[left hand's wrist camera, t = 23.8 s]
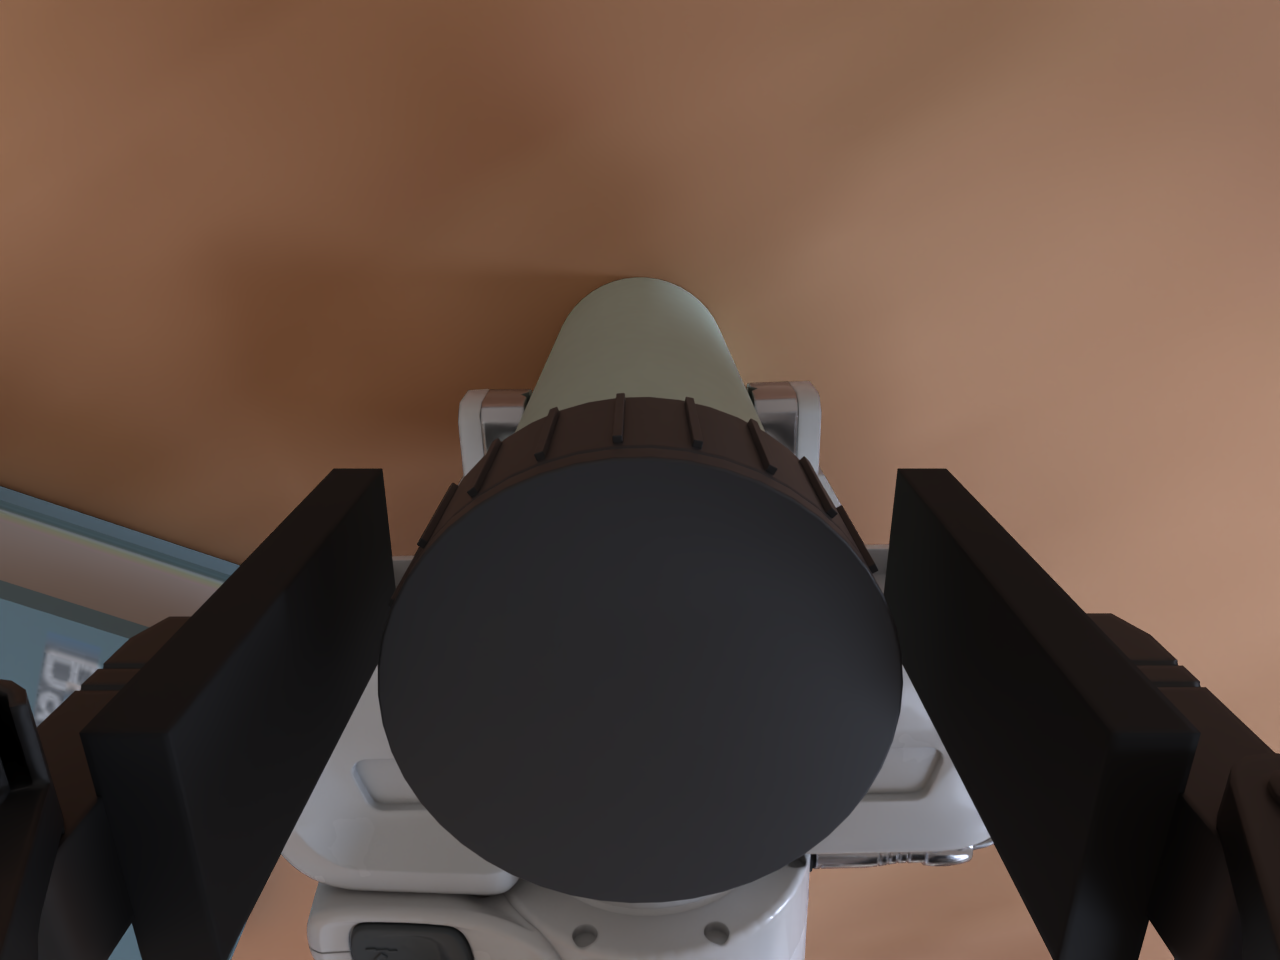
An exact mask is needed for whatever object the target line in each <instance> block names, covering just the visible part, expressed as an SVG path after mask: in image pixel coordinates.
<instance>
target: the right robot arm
mask: <svg viewBox="0 0 1280 960" xmlns="http://www.w3.org/2000/svg"><path fill="white" fill-rule="evenodd" d="M746 390H747V392H748V394H749V397H750V399H751V401H752V403H753V406H754V408H755V410H756V412H757V415H758V417H759V419H760V421H761V424H762V426H763V428H764V430H765V432H766V433H767V434H769V435H770V436H771V437H773V438H774V439H775V440H777V441H778V442H780V443H781V444H782V445H784V446H785V447H787V448H788V449H789V450H790V451H791V452H792V453H793V454H794V455H795V456H796V457H797V458H798V459H799V460H800V459H801V458H802V457H803V456H805V457H806V458H807V459H808V460H809V461H810V463H811V465H812V467H813V469H814V471H815V472H816V474H817V476H818V478H819V480H820V482H821V483H822V485H823V487H824V488H825V490H826V492H827V493H828V495H829V497H830V498H831V500H832V502H833V504H834V505H835V507H836V508H837V507H839V506H841V504H840V502H839V500H838V498H837V497H836V495H835V493H834V491H833V490H832V488H831V486H830V484H829V482H828V481H827V479H826V477H825V475H824V474H823V472H822V470H821V468H820V467H819V452H820V430H821V404H820V396H819V393H818V391H817V390H816V388H815V387H814V386H813V384H812V383H811V382H810V381H791V382H788V381H786V382H760V383H748V384H747V387H746ZM531 395H532V390H531V389H490V390H489V389H478V390H468V391H467V393H466V394H465V396H464V397H463V398H462V400H461V401H460V405H459V416H458V427H459V436H460V446H461V455H462V465H463V477H462V479H461V481H462V480H463V478H464V477H465V476H466V475H467V474H468V472H469V471H470V470H471V469H472V468H473V467H474V466H475V465H476V464H477V463H478V462H479V461H480V460H481V459H482V457H483V456H485V455H486V453H487V451H488V449H489V447H490V445H491V443H492V442H493V441H494V440H496V439H497V438H499V440H500V441H501V442H502V441H503V440H504V439H506V438H507V437H509V436H510V435H512V434H514V433H515V431H516V429H517V427H518V424H519V422H520V420H521V418H522V415H523V413H524V411H525V409H526V406H527V404H528V402H529V400H530V397H531ZM461 481H460V482H459V484H460V483H461ZM459 484H458V485H459ZM865 547H866V548H867V550H868V552H869V554H870V555H871V557H872V559H873V561H874V562H875V564H876V566H877V568H878V571H877V572H875V573H873V576H874V578H875V580H876V582H877V583H878V585H879V587H880V589H881V591H882V592H883V594H884V586H885V577H886V568H887V559H888V551H889V544H873V545H865ZM414 556H415V555H412V556H392V559H393V568H394V577H395V586H396V588H397V586H398V584H399V583H400V581H401V579H402V577H403V575H404V574H405V572H406V570H407V568H408V566H409V565H410V563H411V561H412V559H413V557H414ZM902 670H903V690H902V701H901V711H900V715H899V719H898V723H897V727H896V731H895V735H894V739H893V742H892V745H891V747H890V750H889V752H888V754H887V757H886V759H885V762H884V764H883V766H882V769H881V770H880V772H879V774H878V775H877V777H876V779H875V780H874V782H873V784H872V785H871V787H870V789H869V791H868V792H867V794H866V795H865V796H864V797H863V799H862V800H861V801H860V802H859V804H858V805H857V806H856V808H855V809H854V810H853V811H852V813H851V814H850V815H849V816H848V817H847V818H846V819H845V820H844V821H843V822H842V823H841V824H840V825H839V826H838V827H837V828H836V829H835V830H834V831H833V832H832V833H831V834H830V835H829V836H828V837H826V838H825V839H824V840H823V841H821V842H820V843H819V844H817V845H816V846H815V847H813V848H812V849H811V850H810V851H808V852H807V853H806V854H804V855H803V856H801V857H799V858H798V859H796V860H794V861H793V862H791V863H789V864H788V865H786V866H784V867H783V868H781V869H779V870H777V871H775V872H773V873H771V874H769V875H766V876H764V877H762V878H760V879H758V880H755V881H753V882H751V883H748V884H745V885H742V886H739V887H736V888H733V889H730V890H727V891H724V892H721V893H716V894H712V895H707V896H703V897H699V898H694V899H687V900H679V901H671V902H662V903H623V902H610V901H599V900H594V899H588V898H583V897H577V896H572V895H568V894H564V893H561V892H557V891H554V890H550V889H547V888H543V887H540V886H538V885H535V884H533V883H530V882H528V881H525V880H523V879H521V878H518V877H516V876H513V875H511V874H509V873H507V872H506V871H504V870H502V869H500V868H498V867H496V866H494V865H493V864H491V863H489V862H487V861H485V860H484V859H483V858H481V857H480V856H478V855H477V854H475V853H474V852H472V851H471V850H470V849H468V848H467V847H465V846H464V845H462V844H461V843H460V842H459V841H458V840H457V839H455V838H454V837H453V836H452V835H451V834H450V833H449V832H448V831H446V830H445V829H444V828H443V827H442V826H441V825H440V824H439V823H438V822H437V821H436V820H435V819H434V817H433V816H432V815H431V814H430V813H429V812H428V811H427V809H426V808H425V807H424V806H423V805H422V804H421V803H420V801H419V800H418V798H417V797H416V795H415V794H414V792H413V791H412V789H411V788H410V786H409V785H408V783H407V782H406V780H405V779H404V777H403V775H402V773H401V771H400V769H399V767H398V765H397V763H396V761H395V758H394V756H393V754H392V752H391V749H390V746H389V743H388V740H387V737H386V733H385V730H384V727H383V724H382V718H381V711H380V705H379V699H378V665H377V667H376V669H375V671H374V673H373V675H372V677H371V679H370V680H369V682H368V684H367V686H366V688H365V690H364V692H363V694H362V696H361V698H360V700H359V702H358V704H357V706H356V708H355V710H354V712H353V714H352V716H351V718H350V720H349V722H348V724H347V726H346V727H345V729H344V731H343V733H342V735H341V737H340V739H339V741H338V743H337V745H336V747H335V749H334V751H333V753H332V755H331V757H330V759H329V761H328V763H327V765H326V767H325V769H324V771H323V772H322V774H321V776H320V778H319V780H318V782H317V784H316V786H315V788H314V790H313V792H312V794H311V796H310V798H309V800H308V802H307V804H306V806H305V808H304V810H303V812H302V814H301V816H300V818H299V819H298V821H297V823H296V825H295V827H294V829H293V831H292V833H291V835H290V837H289V839H288V841H287V843H286V845H285V847H284V849H283V851H282V853H281V854H282V856H283V857H284V858H285V859H286V860H287V861H288V862H289V863H290V864H291V865H292V866H294V867H295V868H296V869H297V870H299V871H300V872H302V873H303V874H305V875H307V876H308V877H310V878H312V879H314V880H316V881H318V882H319V883H318V886H317V890H316V893H315V897H314V901H313V904H312V908H311V911H310V915H309V919H308V923H307V938H308V943H309V948H310V951H311V954H312V956H313V958H314V960H805V943H806V925H807V908H808V895H809V872H811V871H812V868H814V869H820V868H821V869H832V868H867V867H876V866H877V865H878V866H883V865H887V864H896V863H906V862H907V863H922V864H923V865H926V866H951V865H957V864H962V863H965V862H968V861H970V860H971V859H972V856H973V850H976V849H981V848H985V847H988V846H990V845H993V844H994V843H993V841H992V839H991V837H990V835H989V833H988V831H987V829H986V827H985V825H984V823H983V821H982V819H981V818H980V816H979V814H978V812H977V810H976V808H975V806H974V804H973V802H972V800H971V798H970V796H969V794H968V792H967V790H966V788H965V786H964V784H963V782H962V780H961V778H960V776H959V774H958V772H957V771H956V769H955V767H954V765H953V763H952V761H951V759H950V757H949V755H948V753H947V751H946V749H945V747H944V745H943V743H942V741H941V739H940V737H939V735H938V733H937V731H936V729H935V727H934V726H933V724H932V722H931V720H930V718H929V716H928V714H927V712H926V710H925V708H924V706H923V704H922V702H921V700H920V698H919V696H918V694H917V692H916V690H915V688H914V686H913V684H912V682H911V680H910V679H909V677H908V675H907V673H906V671H905V669H904V667H903V665H902Z"/></svg>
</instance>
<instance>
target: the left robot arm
mask: <svg viewBox="0 0 1280 960" xmlns="http://www.w3.org/2000/svg"><path fill="white" fill-rule="evenodd" d="M395 590H396V586H395V577H394V568H393V559H392V551H391V542H390V533H389V524H388V515H387V506H386V497H385V488H384V480H383V471H382V469H333V470H332V471H331V472H330V473H329V474H328V475H327V476H326V477H325V478H324V479H323V480H322V481H321V482H320V483H319V484H318V486H317V487H316V488H315V489H314V490H313V491H312V492H311V493H310V494H309V495H308V496H307V497H306V498H305V499H304V500H303V501H302V502H301V503H300V504H299V505H298V506H297V507H296V508H295V509H294V510H293V511H292V512H291V514H290V515H289V516H288V517H287V518H286V519H285V520H284V521H283V522H282V523H281V524H280V525H279V526H278V527H277V528H276V529H275V530H274V531H273V532H272V533H271V534H270V535H269V536H268V537H267V538H266V539H265V540H264V542H263V543H262V544H261V545H260V546H259V547H258V548H257V549H256V550H255V551H254V552H253V553H252V554H251V555H250V556H249V557H248V558H247V559H246V560H245V561H244V562H243V563H242V564H241V565H240V566H239V567H238V568H237V570H236V571H235V572H234V573H233V574H232V575H231V576H230V577H229V578H228V579H227V580H226V581H225V582H224V583H223V584H222V585H221V586H220V587H219V588H218V589H217V590H216V591H215V592H214V593H213V594H212V595H211V596H210V598H209V599H208V600H207V601H206V602H205V603H204V604H203V605H202V606H201V607H200V608H199V609H198V610H197V611H196V612H195V613H194V614H193V615H192V616H169V617H167V618H166V619H164V620H162V621H160V622H158V623H156V624H155V625H153V626H151V627H149V628H147V629H146V630H144V631H142V632H140V633H138V634H137V635H135V636H133V637H131V638H130V639H129V640H128V641H126V642H125V643H124V644H123V645H122V646H121V647H120V648H119V649H118V650H117V651H116V652H115V653H114V654H113V655H112V656H111V657H110V658H109V659H108V660H107V661H106V662H105V663H103V669H97V670H96V671H95V672H94V673H93V674H92V675H91V676H90V677H89V678H88V679H87V680H86V681H85V682H84V683H83V684H81V690H80V691H74V692H73V693H72V694H71V695H70V696H69V697H68V698H67V699H66V700H65V701H64V702H63V703H62V704H61V705H59V706H58V707H57V708H56V709H55V710H54V711H53V712H52V713H51V714H50V715H49V716H48V717H47V718H46V719H45V720H44V721H43V722H42V723H41V724H40V725H39V726H38V727H37V726H36V723H35V720H34V716H33V713H32V709H31V706H30V703H29V699H28V696H27V693H26V689H24V688H22V687H21V686H19V685H18V684H16V683H15V682H13V681H12V680H3V679H0V960H108V958H109V957H110V955H111V954H112V952H113V951H114V949H115V948H116V946H117V945H118V943H119V942H120V940H121V939H122V937H123V935H124V934H125V932H126V931H127V929H128V928H129V926H130V925H131V923H132V926H133V929H134V933H135V936H136V940H137V944H138V947H139V951H140V955H141V958H142V960H227V958H228V956H229V955H230V953H231V951H232V949H233V947H234V945H235V943H236V941H237V939H238V937H239V935H240V933H241V931H242V929H243V927H244V925H245V923H246V921H247V919H248V917H249V915H250V913H251V911H252V910H253V908H254V906H255V904H256V902H257V900H258V898H259V896H260V894H261V892H262V890H263V888H264V886H265V884H266V882H267V880H268V878H269V876H270V874H271V872H272V870H273V868H274V866H275V864H276V863H277V861H278V859H279V857H280V855H281V853H282V851H283V849H284V847H285V845H286V843H287V841H288V839H289V837H290V835H291V833H292V831H293V829H294V827H295V825H296V823H297V821H298V819H299V818H300V816H301V814H302V812H303V810H304V808H305V806H306V804H307V802H308V800H309V798H310V796H311V794H312V792H313V790H314V788H315V786H316V784H317V782H318V780H319V778H320V776H321V774H322V772H323V771H324V769H325V767H326V765H327V763H328V761H329V759H330V757H331V755H332V753H333V751H334V749H335V747H336V745H337V743H338V741H339V739H340V737H341V735H342V733H343V731H344V729H345V727H346V726H347V724H348V722H349V720H350V718H351V716H352V714H353V712H354V710H355V708H356V706H357V704H358V702H359V700H360V698H361V696H362V694H363V692H364V690H365V688H366V686H367V684H368V682H369V680H370V679H371V677H372V675H373V673H374V671H375V669H376V667H377V665H378V660H379V653H380V647H381V640H382V635H383V631H384V628H385V625H386V622H387V619H388V616H389V613H390V609H391V607H390V606H389V602H390V599H391V597H392V595H393V593H394V591H395ZM884 597H885V599H886V602H887V604H888V607H889V609H890V612H891V614H892V617H893V620H894V622H895V625H896V627H897V635H898V639H899V644H900V648H901V653H902V665H903V667H904V669H905V671H906V673H907V675H908V677H909V679H910V680H911V682H912V684H913V686H914V688H915V690H916V692H917V694H918V696H919V698H920V700H921V702H922V704H923V706H924V708H925V710H926V712H927V714H928V716H929V718H930V720H931V722H932V724H933V726H934V727H935V729H936V731H937V733H938V735H939V737H940V739H941V741H942V743H943V745H944V747H945V749H946V751H947V753H948V755H949V757H950V759H951V761H952V763H953V765H954V767H955V769H956V771H957V772H958V774H959V776H960V778H961V780H962V782H963V784H964V786H965V788H966V790H967V792H968V794H969V796H970V798H971V800H972V802H973V804H974V806H975V808H976V810H977V812H978V814H979V816H980V818H981V819H982V821H983V823H984V825H985V827H986V829H987V831H988V833H989V835H990V837H991V839H992V841H993V843H994V845H995V847H996V849H997V851H998V853H999V855H1000V857H1001V859H1002V861H1003V863H1004V864H1005V866H1006V868H1007V870H1008V872H1009V874H1010V876H1011V878H1012V880H1013V882H1014V884H1015V886H1016V888H1017V890H1018V892H1019V894H1020V896H1021V898H1022V900H1023V902H1024V904H1025V906H1026V908H1027V910H1028V911H1029V913H1030V915H1031V917H1032V919H1033V921H1034V923H1035V925H1036V927H1037V929H1038V931H1039V933H1040V935H1041V937H1042V939H1043V941H1044V943H1045V945H1046V947H1047V949H1048V951H1049V953H1050V955H1051V956H1052V958H1053V960H1138V958H1139V955H1140V951H1141V947H1142V944H1143V940H1144V936H1145V933H1146V929H1147V926H1148V922H1149V920H1150V922H1151V923H1152V925H1153V926H1154V928H1155V929H1156V931H1157V932H1158V934H1159V935H1160V937H1161V938H1162V940H1163V941H1164V943H1165V944H1166V946H1167V947H1168V949H1169V950H1170V952H1171V953H1172V955H1173V956H1174V958H1175V959H1174V960H1280V754H1277V753H1275V752H1273V751H1272V750H1271V749H1270V748H1269V747H1268V746H1267V745H1266V744H1265V743H1264V742H1263V741H1262V740H1261V739H1260V738H1259V737H1258V736H1257V735H1256V734H1254V733H1253V732H1252V731H1251V730H1250V729H1249V728H1248V727H1247V726H1246V725H1245V724H1244V723H1243V722H1242V721H1241V720H1240V719H1239V718H1238V717H1237V716H1236V715H1234V714H1233V713H1232V712H1231V711H1230V710H1229V709H1228V708H1227V707H1226V706H1225V705H1224V704H1223V703H1222V702H1221V701H1220V700H1219V699H1218V698H1217V697H1215V696H1214V695H1213V694H1212V693H1211V692H1210V691H1209V690H1208V689H1207V688H1206V687H1200V681H1199V680H1198V679H1196V678H1195V677H1194V676H1193V675H1192V674H1191V673H1190V672H1189V671H1188V670H1187V669H1186V668H1185V667H1184V666H1178V663H1177V660H1176V659H1175V658H1174V657H1173V656H1172V655H1171V654H1170V653H1169V652H1168V651H1167V650H1166V649H1165V648H1164V647H1163V646H1162V645H1161V644H1160V643H1158V642H1157V641H1156V640H1155V639H1154V638H1153V637H1152V636H1151V635H1150V634H1148V633H1146V632H1144V631H1142V630H1140V629H1139V628H1137V627H1135V626H1133V625H1131V624H1130V623H1128V622H1126V621H1124V620H1122V619H1120V618H1119V617H1117V616H1115V615H1113V614H1086V613H1085V612H1084V611H1083V610H1082V609H1081V608H1080V607H1079V606H1078V605H1077V604H1076V603H1075V602H1074V601H1073V600H1072V599H1071V598H1070V596H1069V595H1068V594H1067V593H1066V592H1065V591H1064V590H1063V589H1062V588H1061V587H1060V586H1059V585H1058V584H1057V583H1056V582H1055V581H1054V580H1053V579H1052V578H1051V577H1050V576H1049V575H1048V574H1047V573H1046V572H1045V571H1044V570H1043V568H1042V567H1041V566H1040V565H1039V564H1038V563H1037V562H1036V561H1035V560H1034V559H1033V558H1032V557H1031V556H1030V555H1029V554H1028V553H1027V552H1026V551H1025V550H1024V549H1023V548H1022V547H1021V546H1020V545H1019V544H1018V543H1017V542H1016V540H1015V539H1014V538H1013V537H1012V536H1011V535H1010V534H1009V533H1008V532H1007V531H1006V530H1005V529H1004V528H1003V527H1002V526H1001V525H1000V524H999V523H998V522H997V521H996V520H995V519H994V518H993V517H992V516H991V515H990V514H989V512H988V511H987V510H986V509H985V508H984V507H983V506H982V505H981V504H980V503H979V502H978V501H977V500H976V499H975V498H974V497H973V496H972V495H971V494H970V493H969V492H968V491H967V490H966V489H965V488H964V487H963V486H962V484H961V483H960V482H959V481H958V480H957V479H956V478H955V477H954V476H953V475H952V474H951V473H950V472H949V471H948V470H947V469H898V471H897V480H896V488H895V497H894V506H893V515H892V524H891V533H890V542H889V551H888V559H887V568H886V577H885V586H884Z"/></svg>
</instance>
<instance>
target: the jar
mask: <svg viewBox="0 0 1280 960" xmlns="http://www.w3.org/2000/svg"><path fill="white" fill-rule="evenodd" d="M617 393H625V397H656V398H666V399H675V400H682V401H685V398H686V397H691V398H694V402H695V404H700V405H704V406H708V407H711V408H714V409H717V410H719V411H722V412H725V413H727V414H730V415H733V416H735V417H738V418H740V419H742V420H744V421H746V422H749V420H750V419H753V420H755V421H757V422H758V424H759V427H760V429H761V430H763V431H764V432H765V430H764V428H763V426H762V424H761V421H760V419H759V417H758V415H757V412H756V410H755V408H754V406H753V403H752V401H751V399H750V397H749V394H748V392H747V390H746V388H745V385H744V383H743V381H742V379H741V376H740V374H739V372H738V370H737V367H736V365H735V363H734V361H733V359H732V356H731V354H730V352H729V350H728V347H727V345H726V343H725V341H724V338H723V336H722V334H721V332H720V329H719V327H718V325H717V323H716V322H715V320H714V318H713V316H712V315H711V314H710V312H709V311H708V309H707V308H706V307H705V306H704V305H703V304H702V303H701V302H700V301H699V300H698V299H697V298H696V297H694V296H693V295H692V294H691V293H689V292H688V291H686V290H684V289H683V288H681V287H679V286H677V285H674V284H672V283H670V282H666V281H663V280H660V279H654V278H645V277H634V278H626V279H621V280H617V281H613V282H611V283H608V284H606V285H603V286H601V287H599V288H598V289H596V290H594V291H592V292H591V293H590V294H588V295H587V296H586V297H584V298H583V299H582V300H581V301H580V302H579V303H578V304H577V305H576V306H575V307H574V309H573V310H572V311H571V312H570V314H569V315H568V317H567V318H566V320H565V322H564V324H563V325H562V328H561V330H560V332H559V334H558V337H557V339H556V341H555V343H554V346H553V348H552V350H551V352H550V355H549V357H548V359H547V361H546V364H545V366H544V368H543V370H542V373H541V375H540V377H539V379H538V382H537V384H536V386H535V388H534V391H533V393H532V395H531V397H530V400H529V402H528V404H527V406H526V409H525V411H524V413H523V415H522V418H521V420H520V422H519V424H518V427H517V429H516V431H515V432H517V431H519V430H520V429H522V428H524V427H525V426H527V425H528V424H530V423H532V422H534V421H537V420H539V419H541V418H543V417H546V416H548V413H549V410H550V409H552V408H555V407H558V410H559V411H560V410H563V409H567V408H570V407H574V406H577V405H581V404H584V403H588V402H594V401H600V400H606V399H613V398H616V394H617Z"/></svg>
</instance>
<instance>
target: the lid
mask: <svg viewBox="0 0 1280 960" xmlns="http://www.w3.org/2000/svg"><path fill="white" fill-rule="evenodd" d="M417 545H418V546H420V547H419V548H418V550H417V552H416V554H415V556H414V557H413V559H412V561H411V563H410V565H409V566H408V568H407V570H406V572H405V574H404V575H403V577H402V579H401V581H400V583H399V584H398V586H397V588H396V590H395V591H394V593H393V595H392V597H391V599H390V602H389V606H390V607H391V609H390V613H389V616H388V619H387V622H386V625H385V628H384V631H383V635H382V640H381V647H380V653H379V660H378V699H379V705H380V711H381V718H382V724H383V727H384V730H385V733H386V737H387V740H388V743H389V746H390V749H391V752H392V754H393V756H394V758H395V761H396V763H397V765H398V767H399V769H400V771H401V773H402V775H403V777H404V779H405V780H406V782H407V783H408V785H409V786H410V788H411V789H412V791H413V792H414V794H415V795H416V797H417V798H418V800H419V801H420V803H421V804H422V805H423V806H424V807H425V808H426V809H427V811H428V812H429V813H430V814H431V815H432V816H433V817H434V819H435V820H436V821H437V822H438V823H439V824H440V825H441V826H442V827H443V828H444V829H445V830H446V831H448V832H449V833H450V834H451V835H452V836H453V837H454V838H455V839H457V840H458V841H459V842H460V843H461V844H462V845H464V846H465V847H467V848H468V849H470V850H471V851H472V852H474V853H475V854H477V855H478V856H480V857H481V858H483V859H484V860H485V861H487V862H489V863H491V864H493V865H494V866H496V867H498V868H500V869H502V870H504V871H506V872H507V873H509V874H511V875H513V876H516V877H518V878H521V879H523V880H525V881H528V882H530V883H533V884H535V885H538V886H540V887H543V888H547V889H550V890H554V891H557V892H561V893H564V894H568V895H572V896H577V897H583V898H588V899H594V900H599V901H610V902H623V903H662V902H671V901H679V900H687V899H694V898H699V897H703V896H707V895H712V894H716V893H721V892H724V891H727V890H730V889H733V888H736V887H739V886H742V885H745V884H748V883H751V882H753V881H755V880H758V879H760V878H762V877H764V876H766V875H769V874H771V873H773V872H775V871H777V870H779V869H781V868H783V867H784V866H786V865H788V864H789V863H791V862H793V861H794V860H796V859H798V858H799V857H801V856H803V855H804V854H806V853H807V852H808V851H810V850H811V849H812V848H813V847H815V846H816V845H817V844H819V843H820V842H821V841H823V840H824V839H825V838H826V837H828V836H829V835H830V834H831V833H832V832H833V831H834V830H835V829H836V828H837V827H838V826H839V825H840V824H841V823H842V822H843V821H844V820H845V819H846V818H847V817H848V816H849V815H850V814H851V813H852V811H853V810H854V809H855V808H856V806H857V805H858V804H859V802H860V801H861V800H862V799H863V797H864V796H865V795H866V794H867V792H868V791H869V789H870V787H871V785H872V784H873V782H874V780H875V779H876V777H877V775H878V774H879V772H880V770H881V769H882V766H883V764H884V762H885V759H886V757H887V754H888V752H889V750H890V747H891V745H892V742H893V739H894V735H895V731H896V727H897V723H898V719H899V715H900V711H901V701H902V690H903V670H902V653H901V648H900V644H899V639H898V635H897V627H896V625H895V622H894V620H893V617H892V614H891V612H890V609H889V607H888V604H887V602H886V599H885V597H884V594H883V592H882V591H881V589H880V587H879V585H878V583H877V582H876V580H875V578H874V576H873V573H875V572H877V571H878V568H877V566H876V564H875V562H874V561H873V559H872V557H871V555H870V554H869V552H868V550H867V548H866V547H865V545H864V543H863V541H862V539H861V538H860V536H859V534H858V532H857V531H856V529H855V527H854V525H853V524H852V522H851V520H850V518H849V517H848V515H847V513H846V511H845V510H844V508H843V506H842V505H841V506H839V507H837V508H836V507H835V505H834V504H833V502H832V500H831V498H830V497H829V495H828V493H827V492H826V490H825V488H824V487H823V485H822V483H821V482H820V480H819V478H818V476H817V474H816V472H815V471H814V469H813V467H812V465H811V463H810V461H809V460H808V459H807V458H806V457H805V456H803V457H802V458H801V459H800V460H799V459H798V458H797V457H796V456H795V455H794V454H793V453H792V452H791V451H790V450H789V449H788V448H787V447H785V446H784V445H782V444H781V443H780V442H778V441H777V440H775V439H774V438H773V437H771V436H770V435H769V434H767V433H766V432H764V431H763V430H761V429H760V427H759V424H758V422H757V421H755V420H753V419H750V420H749V422H746V421H744V420H742V419H740V418H738V417H735V416H733V415H730V414H727V413H725V412H722V411H719V410H717V409H714V408H711V407H708V406H704V405H700V404H695V402H694V398H691V397H686V398H685V401H682V400H675V399H666V398H656V397H625V393H617V394H616V398H613V399H606V400H600V401H594V402H588V403H584V404H581V405H577V406H574V407H570V408H567V409H563V410H560V411H559V410H558V407H555V408H552V409H550V410H549V413H548V416H546V417H543V418H541V419H539V420H537V421H534V422H532V423H530V424H528V425H527V426H525V427H524V428H522V429H520V430H519V431H517V432H515V433H514V434H512V435H510V436H509V437H507V438H506V439H504V440H503V441H502V442H501V441H500V440H499V438H497V439H496V440H494V441H493V442H492V443H491V445H490V447H489V449H488V451H487V453H486V455H485V456H483V457H482V459H481V460H480V461H479V462H478V463H477V464H476V465H475V466H474V467H473V468H472V469H471V470H470V471H469V472H468V474H467V475H466V476H465V477H464V478H463V480H462V481H461V483H460V484H459V485H456V484H455V483H452V484H451V486H450V487H449V489H448V490H447V492H446V494H445V496H444V497H443V499H442V501H441V503H440V505H439V506H438V508H437V510H436V512H435V513H434V515H433V517H432V519H431V520H430V522H429V524H428V526H427V527H426V529H425V531H424V533H423V534H422V536H421V538H420V540H419V542H418V543H417Z"/></svg>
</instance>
